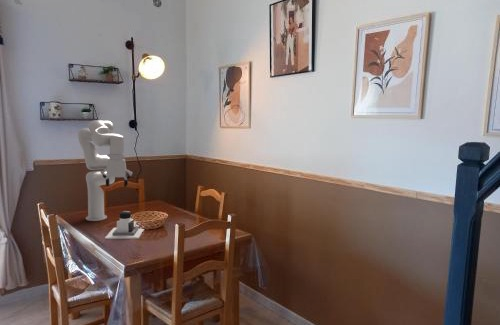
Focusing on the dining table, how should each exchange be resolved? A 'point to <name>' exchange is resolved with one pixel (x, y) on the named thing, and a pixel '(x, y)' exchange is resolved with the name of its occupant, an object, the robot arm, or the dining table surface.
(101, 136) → the robot arm
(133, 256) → the dining table surface
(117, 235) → the holder board
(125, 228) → the medicine bottle
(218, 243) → the dining table surface
